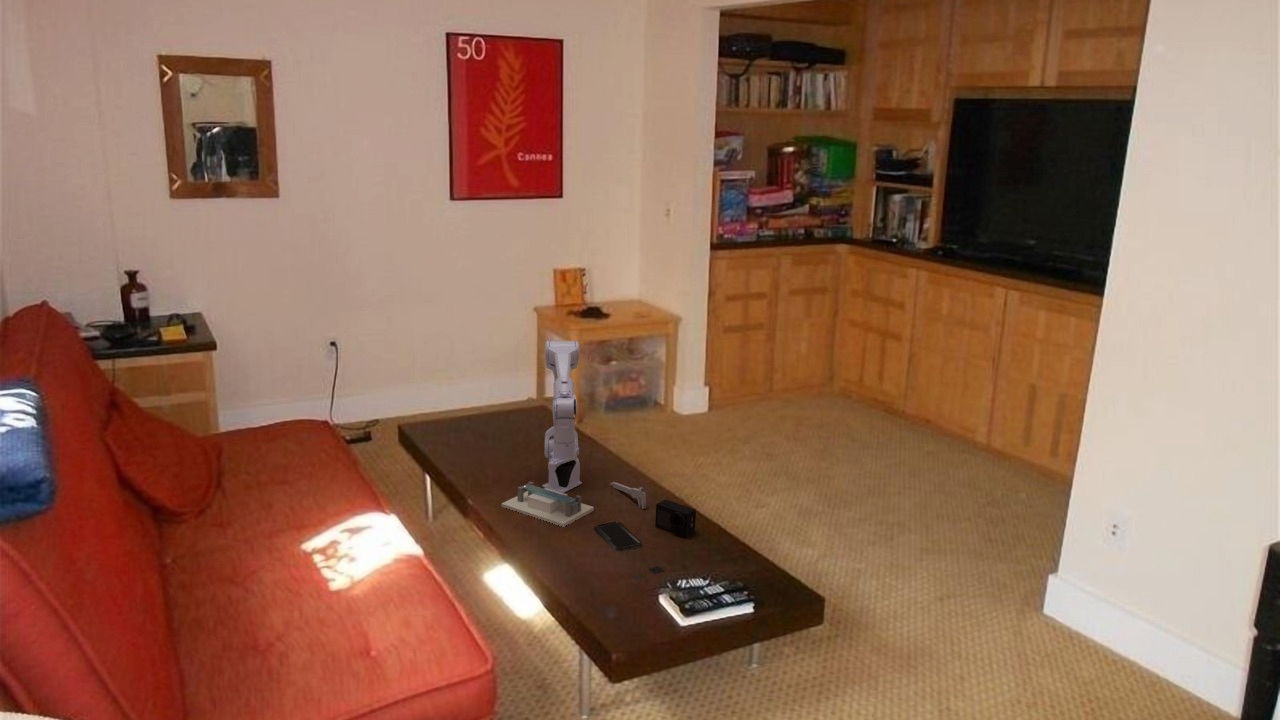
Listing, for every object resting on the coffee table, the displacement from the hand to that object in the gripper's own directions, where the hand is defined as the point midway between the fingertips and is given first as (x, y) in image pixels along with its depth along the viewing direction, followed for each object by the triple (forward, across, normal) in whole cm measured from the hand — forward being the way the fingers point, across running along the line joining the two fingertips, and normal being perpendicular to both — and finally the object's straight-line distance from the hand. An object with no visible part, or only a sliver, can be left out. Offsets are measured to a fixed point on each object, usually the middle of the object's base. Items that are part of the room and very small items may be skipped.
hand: (563, 486), depth 264 cm
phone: (+9, +6, +20) cm, 22 cm away
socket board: (+8, -1, -5) cm, 10 cm away
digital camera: (+8, -4, +32) cm, 33 cm away
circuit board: (+9, +19, +36) cm, 42 cm away
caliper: (+9, -19, +11) cm, 24 cm away
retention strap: (+4, -1, -5) cm, 7 cm away
